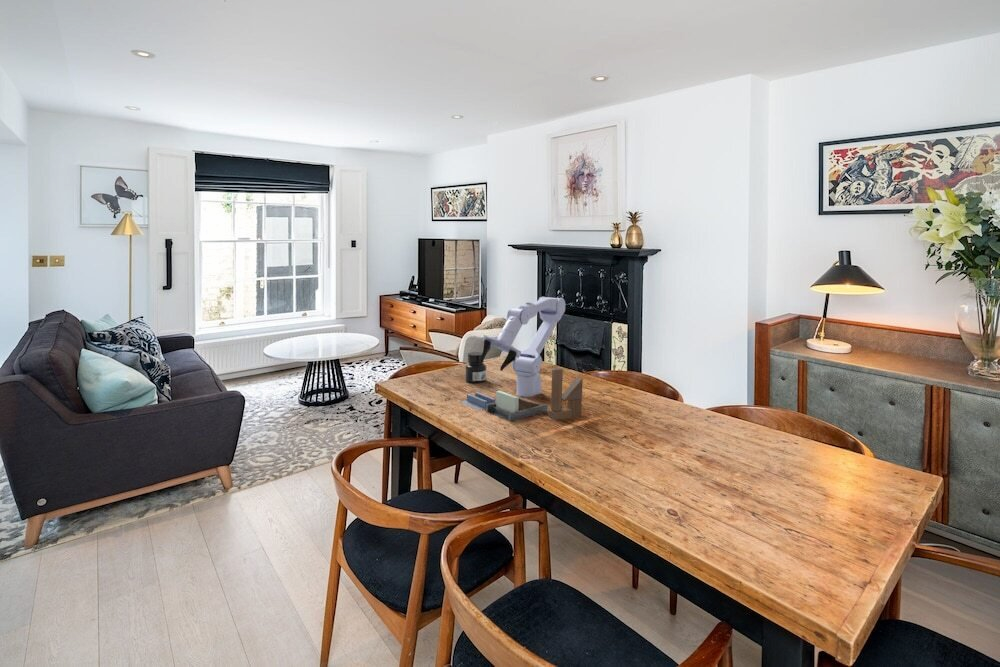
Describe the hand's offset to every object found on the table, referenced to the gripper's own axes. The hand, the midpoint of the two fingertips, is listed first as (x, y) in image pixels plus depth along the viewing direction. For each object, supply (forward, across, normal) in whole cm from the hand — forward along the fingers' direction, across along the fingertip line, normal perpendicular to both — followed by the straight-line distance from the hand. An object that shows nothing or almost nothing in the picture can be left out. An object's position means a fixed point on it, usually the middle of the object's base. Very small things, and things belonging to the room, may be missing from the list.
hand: (491, 364), depth 184 cm
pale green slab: (+11, +12, +6) cm, 18 cm away
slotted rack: (+9, +15, +9) cm, 19 cm away
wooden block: (+5, +31, +4) cm, 31 cm away
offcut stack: (+5, +17, +10) cm, 20 cm away
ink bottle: (-11, -10, +43) cm, 45 cm away
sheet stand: (+9, +1, +16) cm, 19 cm away
